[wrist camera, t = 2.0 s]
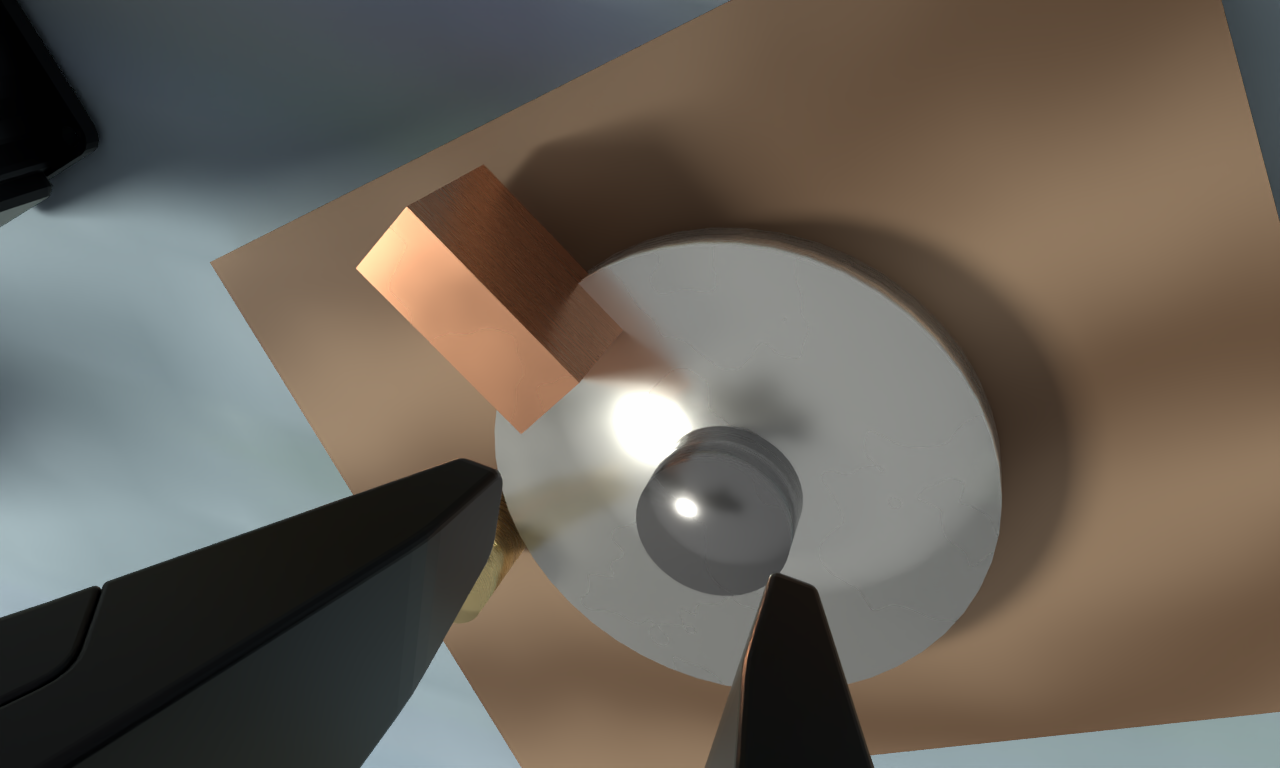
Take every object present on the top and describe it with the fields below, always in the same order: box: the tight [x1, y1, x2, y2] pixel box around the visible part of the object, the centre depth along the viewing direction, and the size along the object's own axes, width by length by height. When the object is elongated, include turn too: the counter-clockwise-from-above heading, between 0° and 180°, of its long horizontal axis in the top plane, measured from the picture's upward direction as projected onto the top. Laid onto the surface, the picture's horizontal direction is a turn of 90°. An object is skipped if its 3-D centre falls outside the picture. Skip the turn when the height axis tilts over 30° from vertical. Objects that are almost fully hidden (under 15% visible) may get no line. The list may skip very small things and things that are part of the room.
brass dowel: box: [453, 493, 526, 623], centre depth 24 cm, size 2×2×3 cm
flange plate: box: [356, 164, 1002, 686], centre depth 20 cm, size 14×11×4 cm
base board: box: [210, 0, 1280, 768], centre depth 23 cm, size 18×22×1 cm
